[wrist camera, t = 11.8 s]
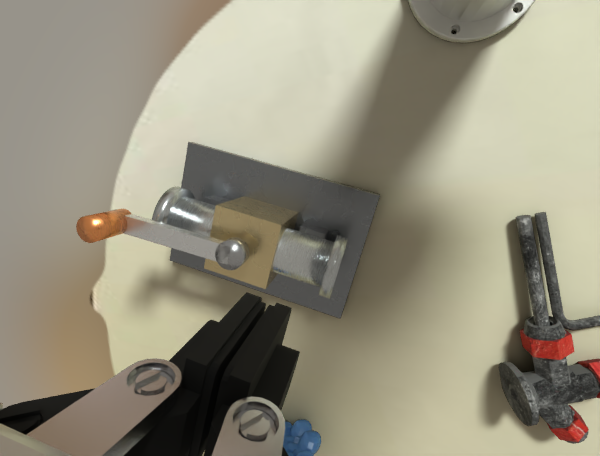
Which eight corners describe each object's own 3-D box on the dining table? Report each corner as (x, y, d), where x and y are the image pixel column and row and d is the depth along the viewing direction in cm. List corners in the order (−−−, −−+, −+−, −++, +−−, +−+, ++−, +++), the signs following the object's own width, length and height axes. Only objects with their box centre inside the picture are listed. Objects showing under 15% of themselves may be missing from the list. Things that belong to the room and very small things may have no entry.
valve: (634, 404, 39) (504, 425, 40) (603, 192, 36) (465, 223, 38) (694, 447, 33) (537, 470, 34) (663, 193, 30) (494, 230, 31)
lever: (251, 241, 31) (230, 257, 26) (246, 268, 32) (224, 287, 27) (119, 203, 33) (77, 211, 29) (117, 229, 34) (75, 240, 29)
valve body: (193, 142, 41) (140, 138, 32) (379, 194, 38) (382, 207, 28) (174, 257, 45) (122, 284, 36) (341, 314, 42) (332, 360, 32)
